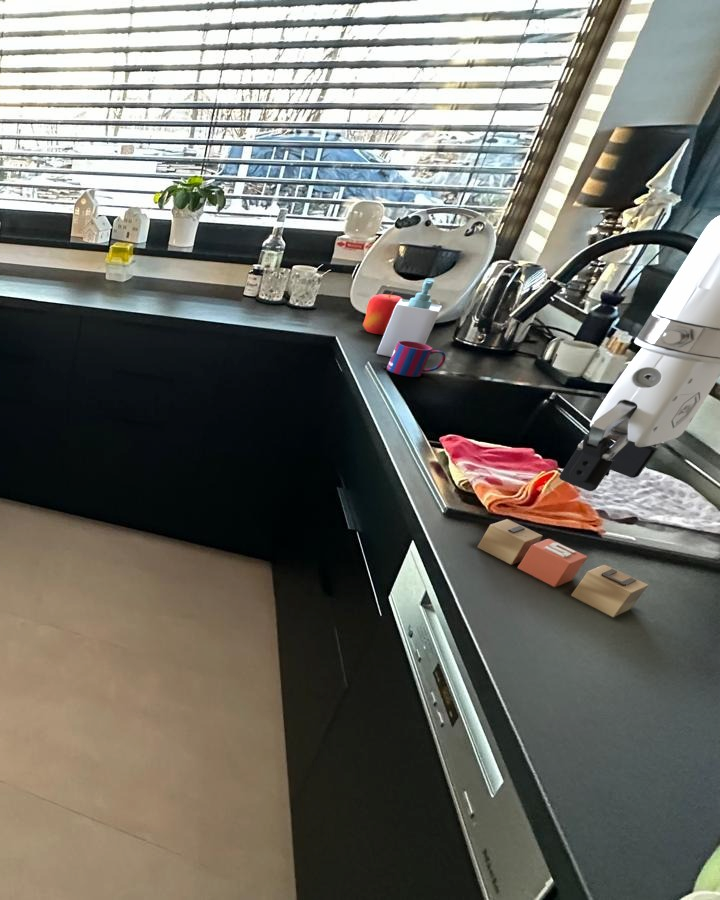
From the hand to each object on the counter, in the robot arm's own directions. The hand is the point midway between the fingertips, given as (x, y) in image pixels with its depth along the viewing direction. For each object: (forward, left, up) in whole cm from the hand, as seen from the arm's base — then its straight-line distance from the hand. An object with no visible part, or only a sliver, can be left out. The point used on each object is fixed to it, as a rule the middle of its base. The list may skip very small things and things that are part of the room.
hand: (597, 478), depth 73 cm
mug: (-21, -80, -14) cm, 84 cm away
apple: (-28, -117, -14) cm, 121 cm away
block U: (-4, +5, -14) cm, 15 cm away
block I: (+2, -3, -14) cm, 15 cm away
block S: (0, +1, -14) cm, 14 cm away
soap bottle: (-25, -96, -14) cm, 100 cm away
